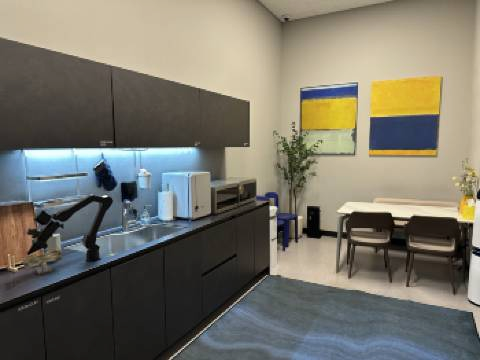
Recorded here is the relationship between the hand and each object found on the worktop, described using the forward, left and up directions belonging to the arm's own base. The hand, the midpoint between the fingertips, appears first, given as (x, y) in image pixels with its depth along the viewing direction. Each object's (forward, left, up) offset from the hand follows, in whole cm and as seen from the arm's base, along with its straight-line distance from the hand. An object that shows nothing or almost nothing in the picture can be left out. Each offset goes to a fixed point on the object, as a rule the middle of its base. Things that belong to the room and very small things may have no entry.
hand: (27, 254), depth 178 cm
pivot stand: (-6, +3, -10) cm, 13 cm away
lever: (-7, +3, -7) cm, 10 cm away
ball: (-1, +1, -3) cm, 3 cm away
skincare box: (-21, -10, -11) cm, 26 cm away
